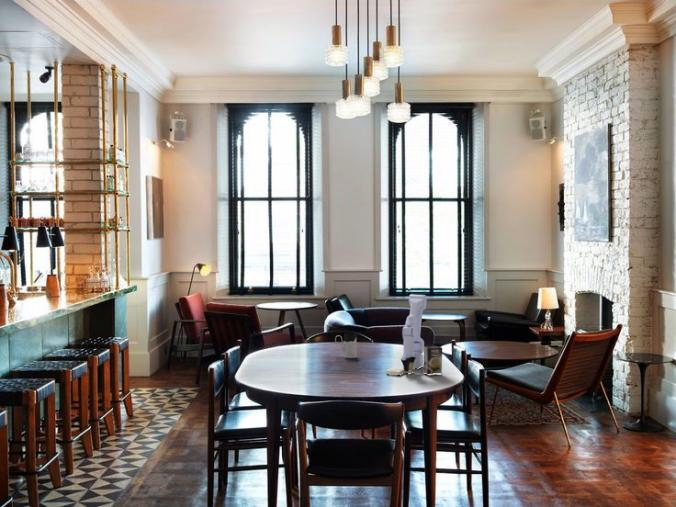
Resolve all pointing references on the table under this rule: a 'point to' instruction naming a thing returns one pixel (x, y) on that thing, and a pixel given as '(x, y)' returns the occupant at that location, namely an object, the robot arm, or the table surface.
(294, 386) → the table surface
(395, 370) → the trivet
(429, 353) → the coffee box
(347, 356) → the glass holder
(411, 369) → the block
